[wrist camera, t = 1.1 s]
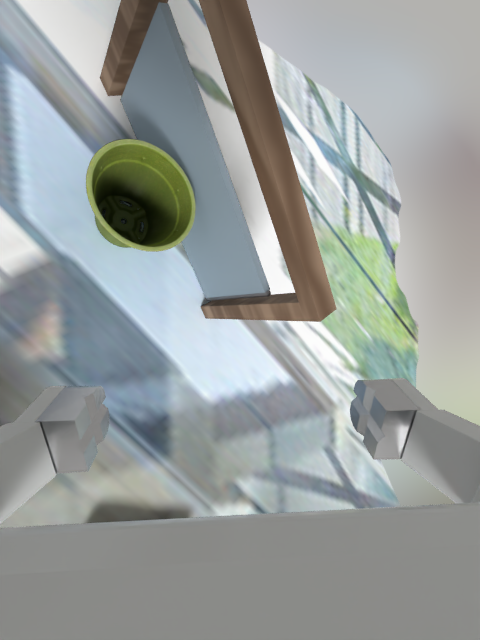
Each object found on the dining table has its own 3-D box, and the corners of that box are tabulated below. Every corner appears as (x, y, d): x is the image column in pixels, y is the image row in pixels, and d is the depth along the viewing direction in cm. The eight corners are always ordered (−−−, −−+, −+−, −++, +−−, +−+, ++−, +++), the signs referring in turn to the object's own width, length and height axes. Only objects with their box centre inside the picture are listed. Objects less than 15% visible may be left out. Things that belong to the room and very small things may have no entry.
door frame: (205, 318, 48) (320, 321, 29) (100, 77, 38) (166, -168, 19) (219, 310, 50) (336, 308, 30) (121, 77, 40) (202, -150, 20)
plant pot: (59, 182, 36) (67, 136, 27) (148, 177, 42) (179, 139, 33) (93, 273, 38) (110, 261, 29) (172, 255, 45) (207, 241, 36)
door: (207, 301, 47) (266, 297, 35) (120, 99, 39) (158, 2, 27) (221, 294, 49) (282, 288, 37) (140, 98, 40) (185, 6, 28)
